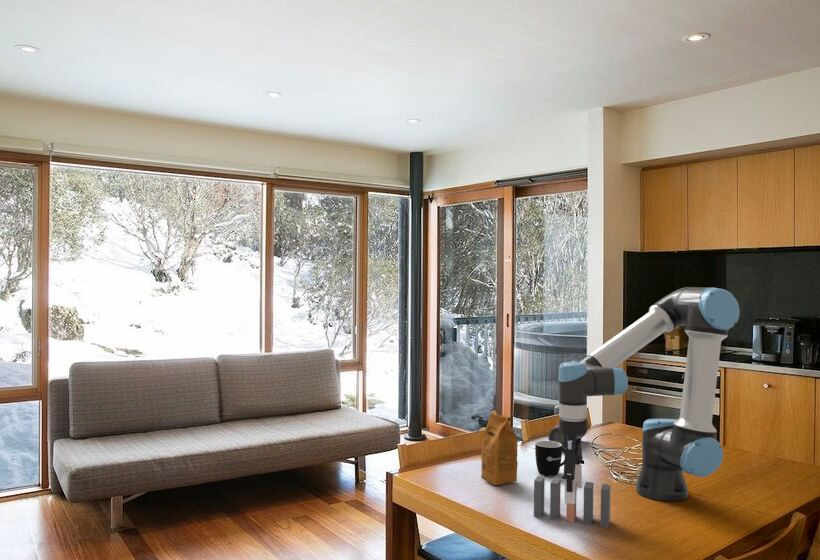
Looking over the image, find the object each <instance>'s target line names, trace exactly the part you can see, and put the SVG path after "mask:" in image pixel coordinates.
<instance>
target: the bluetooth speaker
mask: <svg viewBox="0 0 820 560" xmlns="http://www.w3.org/2000/svg"><path fill="white" fill-rule="evenodd" d="M588 430H589V429H588V427H587V431H588ZM585 436H586V434H584V435H581V439H583V438H584V437H585ZM567 437H568V436H567V435H566V434H562V433H561V432H560V431H559V423H558V424H557V425H555V426H554V427H553V428H551V429H550V431H549V433H548V441H555V442H558V443H561V444H562V448H564V449H565V440H566V438H567Z"/></svg>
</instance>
